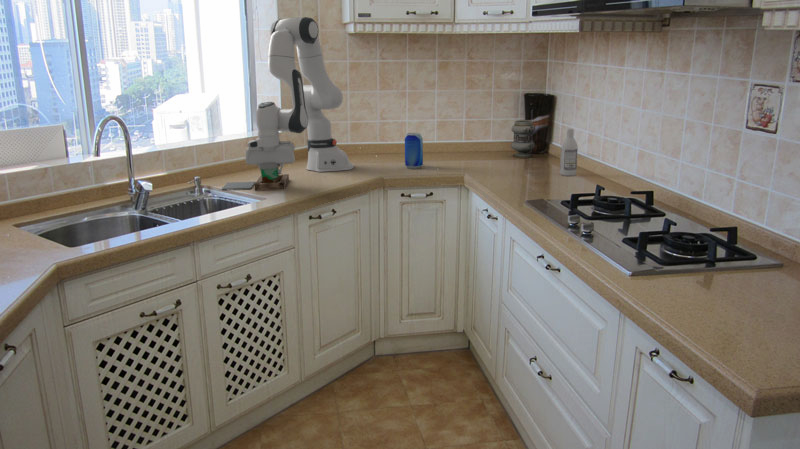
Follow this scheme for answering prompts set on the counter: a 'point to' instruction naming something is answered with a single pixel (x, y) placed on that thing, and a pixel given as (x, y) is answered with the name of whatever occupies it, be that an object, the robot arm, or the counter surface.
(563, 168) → the bath foam
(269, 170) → the food container
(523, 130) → the apothecary jar
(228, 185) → the mat
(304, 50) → the robot arm
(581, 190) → the counter surface
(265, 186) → the pocket frame
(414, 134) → the beer can
